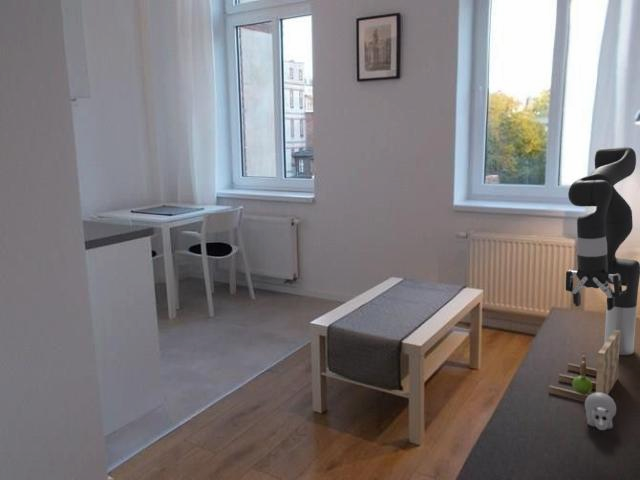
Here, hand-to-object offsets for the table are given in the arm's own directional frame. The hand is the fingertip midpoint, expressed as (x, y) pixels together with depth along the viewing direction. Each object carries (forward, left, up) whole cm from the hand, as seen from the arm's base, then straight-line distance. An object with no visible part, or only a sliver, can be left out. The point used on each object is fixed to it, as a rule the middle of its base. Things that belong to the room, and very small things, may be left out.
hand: (593, 307), depth 156 cm
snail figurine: (-4, -3, -29) cm, 29 cm away
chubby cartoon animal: (+15, +6, -29) cm, 33 cm away
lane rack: (-9, -4, -28) cm, 30 cm away
